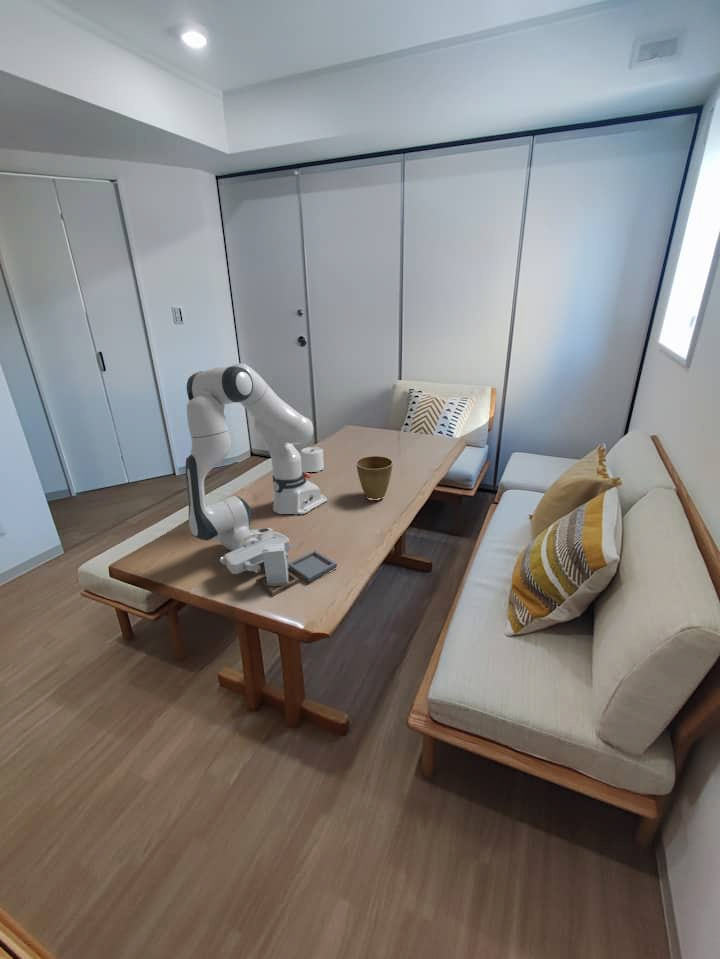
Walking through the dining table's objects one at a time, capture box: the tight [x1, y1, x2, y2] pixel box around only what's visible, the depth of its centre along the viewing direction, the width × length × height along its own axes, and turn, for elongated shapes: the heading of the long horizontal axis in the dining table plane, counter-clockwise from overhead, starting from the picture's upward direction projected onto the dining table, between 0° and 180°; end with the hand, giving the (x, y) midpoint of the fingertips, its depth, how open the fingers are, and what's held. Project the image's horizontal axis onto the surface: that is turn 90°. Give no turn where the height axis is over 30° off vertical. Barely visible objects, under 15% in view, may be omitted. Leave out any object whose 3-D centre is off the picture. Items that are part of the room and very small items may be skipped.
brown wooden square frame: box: [255, 570, 300, 597], centre depth 125 cm, size 9×9×1 cm
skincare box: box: [262, 544, 289, 587], centre depth 123 cm, size 6×4×12 cm
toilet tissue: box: [300, 446, 325, 472], centre depth 206 cm, size 11×12×10 cm
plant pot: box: [355, 455, 393, 499], centre depth 175 cm, size 15×15×16 cm
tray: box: [287, 550, 338, 585], centre depth 131 cm, size 11×11×2 cm
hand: (272, 563), depth 124 cm, fingers open, 8 cm apart
